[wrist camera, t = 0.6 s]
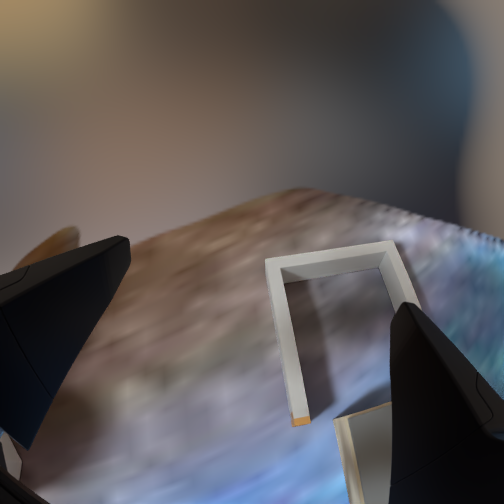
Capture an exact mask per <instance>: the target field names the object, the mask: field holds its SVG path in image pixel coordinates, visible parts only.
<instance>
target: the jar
mask: <svg viewBox="0 0 504 504" xmlns="http://www.w3.org/2000/svg"><path fill="white" fill-rule="evenodd" d="M0 442H1V443H2V447H3V452H4V457H5V462H6V466H7V470H8V472H9V473H10V474H11V475H12V476H13V477H15V478H16V479H17V480H18V481H19V479H20V472H21V466H22V460H21V459H20V457H19V455H18V453H17V451H16V449H15V447H14V445H13V443H12V441H11V439H10V437H9V436H8V435H7V434H6V433H5V432H4V433H3V435H2V436H1V438H0Z"/></svg>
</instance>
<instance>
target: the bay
mask: <svg viewBox="0 0 504 504" xmlns="http://www.w3.org/2000/svg"><path fill="white" fill-rule="evenodd" d="M378 267H379V270H380V272H381V275H382V277H383V280H384V283H385V285H386V288H387V291H388V294H389V296H390V299H391V302H392V305H393V308H394V310H395V313H396V312H397V310H398V308H399V306H400V305H401V303H402V302H404V301H406V302H411V303H414V304H416V305H417V306H418V307H419V308H420V309H421V306H420V304H419V301H418V298H417V296H416V293H415V291H414V288H413V286H412V283H411V281H410V278H409V276H408V274H407V271H406V269H405V267H404V264H403V262H402V260H401V257H400V255H399V253H398V251H397V248H396V246H395V244H394V242H393V240H389V241H382V242H376V243H369V244H363V245H356V246H349V247H343V248H336V249H329V250H323V251H316V252H309V253H302V254H295V255H289V256H282V257H275V258H268V259H265V273H266V280H267V286H268V292H269V297H270V303H271V308H272V314H273V319H274V325H275V331H276V336H277V342H278V348H279V353H280V359H281V365H282V370H283V376H284V382H285V388H286V394H287V399H288V405H289V411H290V417H291V423H292V427H296V426H301V425H306V424H310V423H311V421H310V415H309V410H308V404H307V399H306V394H305V388H304V383H303V378H302V373H301V367H300V362H299V357H298V352H297V347H296V342H295V337H294V332H293V327H292V322H291V317H290V313H289V308H288V303H287V298H286V293H285V289H284V284H283V283H290V282H296V281H303V280H309V279H315V278H321V277H327V276H333V275H339V274H345V273H350V272H356V271H362V270H367V269H373V268H378ZM421 310H422V309H421Z"/></svg>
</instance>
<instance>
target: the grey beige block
mask: <svg viewBox="0 0 504 504" xmlns="http://www.w3.org/2000/svg"><path fill="white" fill-rule="evenodd" d="M333 423H334V428H335V432H336V437H337V442H338V446H339V451H340V456H341V461H342V466H343V471H344V476H345V481H346V486H347V492H348V497H349V503H350V504H388V502H389V491H390V479H391V459H392V402H391V401H390V402H388V403H385V404H382V405H379V406H376V407H373V408H370V409H367V410H364V411H360V412H357V413H354V414H350V415H347V416H344V417H340V418H336V419H333Z"/></svg>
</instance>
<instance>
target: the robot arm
mask: <svg viewBox="0 0 504 504" xmlns="http://www.w3.org/2000/svg"><path fill="white" fill-rule="evenodd" d="M130 263H131V252H130V242H129V239H128V238H126V237H123V236H119V235H117V236H114V237H111V238H107V239H104V240H101V241H98V242H95V243H92V244H89V245H86V246H83V247H79V248H76V249H74V250H71V251H68V252H65V253H62V254H59V255H56V256H53V257H50V258H47V259H45V260H42V261H39V262H36V263H33V264H31V265H28V266H25V267H22V268H20V269H17V270H14V271H11V272H9V273H6V274H2V275H0V438H1V436H2V435H3V433H4V432H5V433H6V434H7V435H8V436H10V437H11V438H12V439H13V440H14V441H16V442H17V443H18V444H20V445H21V446H22V447H23V448H25V449H26V450H27V451H28V450H29V449H30V447H31V445H32V442H33V440H34V438H35V436H36V434H37V432H38V429H39V427H40V425H41V423H42V421H43V419H44V417H45V415H46V413H47V411H48V409H49V407H50V405H51V403H52V401H53V399H54V397H55V395H56V393H57V391H58V390H59V388H60V386H61V384H62V382H63V380H64V378H65V377H66V375H67V373H68V371H69V369H70V368H71V366H72V364H73V362H74V361H75V359H76V357H77V355H78V354H79V352H80V350H81V349H82V347H83V345H84V344H85V342H86V340H87V339H88V337H89V335H90V334H91V332H92V330H93V329H94V327H95V326H96V324H97V322H98V321H99V319H100V318H101V316H102V314H103V313H104V311H105V310H106V308H107V307H108V305H109V303H110V302H111V300H112V298H113V296H114V295H115V293H116V291H117V289H118V287H119V285H120V283H121V281H122V279H123V277H124V275H125V273H126V272H127V270H128V268H129V266H130ZM390 381H391V402H392V459H391V479H390V491H389V502H388V504H504V400H503V399H502V398H501V397H500V396H499V395H498V394H497V393H496V392H495V391H494V389H493V388H492V387H491V386H490V385H489V384H488V383H487V381H486V380H485V379H484V378H483V377H482V376H481V374H480V373H479V372H477V370H476V369H475V368H474V366H473V365H472V364H471V363H470V362H469V361H468V360H467V358H466V357H465V356H464V355H463V354H462V353H461V352H460V351H459V350H458V348H457V347H456V346H455V345H454V344H453V343H452V342H451V341H450V340H449V339H448V338H447V337H446V335H445V334H444V333H443V332H442V331H441V330H440V329H439V328H438V327H437V326H436V325H435V324H434V323H433V322H432V321H431V320H430V319H429V318H428V317H427V316H426V315H425V313H424V312H423V311H422V310H421V309H420V308H419V307H418V306H417V305H416V304H414V303H411V302H406V301H404V302H402V303H401V305H400V306H399V308H398V310H397V312H396V314H395V315H394V317H393V319H392V321H391V326H390ZM0 504H50V503H48V502H47V501H46V500H44V499H43V498H41V497H40V496H38V495H37V494H36V493H34V492H33V491H31V490H30V489H29V488H27V487H26V486H25V485H24V484H22V483H21V482H20V481H18V480H17V479H16V478H15V477H13V476H12V475H11V474H10V473H9V472H8V470H7V466H6V462H5V457H4V452H3V447H2V443H1V442H0Z"/></svg>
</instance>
